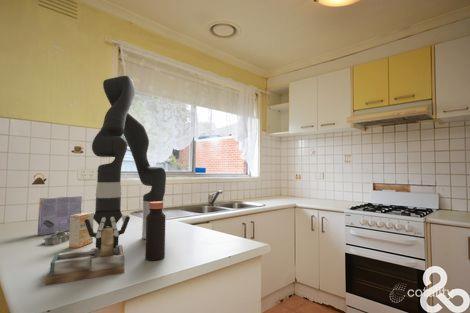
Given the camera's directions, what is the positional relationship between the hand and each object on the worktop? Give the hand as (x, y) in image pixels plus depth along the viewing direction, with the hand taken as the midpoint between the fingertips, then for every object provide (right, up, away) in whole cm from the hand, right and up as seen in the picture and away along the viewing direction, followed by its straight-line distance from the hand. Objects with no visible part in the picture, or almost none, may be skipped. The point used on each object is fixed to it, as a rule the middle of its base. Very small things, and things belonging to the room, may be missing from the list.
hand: (107, 247), depth 86 cm
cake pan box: (-47, -9, +48) cm, 67 cm away
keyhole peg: (0, -4, 0) cm, 4 cm away
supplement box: (-23, -7, +24) cm, 34 cm away
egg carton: (-36, -8, +30) cm, 47 cm away
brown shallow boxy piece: (-5, -6, -3) cm, 8 cm away
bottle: (+13, -7, +9) cm, 17 cm away
